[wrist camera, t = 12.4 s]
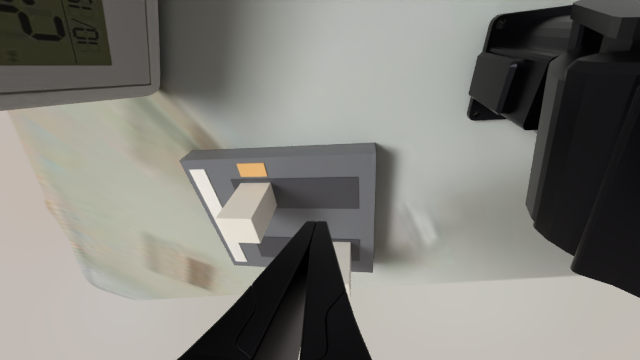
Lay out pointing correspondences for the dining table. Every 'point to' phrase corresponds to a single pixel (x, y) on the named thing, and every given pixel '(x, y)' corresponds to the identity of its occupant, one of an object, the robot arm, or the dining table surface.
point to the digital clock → (77, 51)
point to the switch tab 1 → (247, 213)
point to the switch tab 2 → (344, 262)
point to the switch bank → (294, 194)
